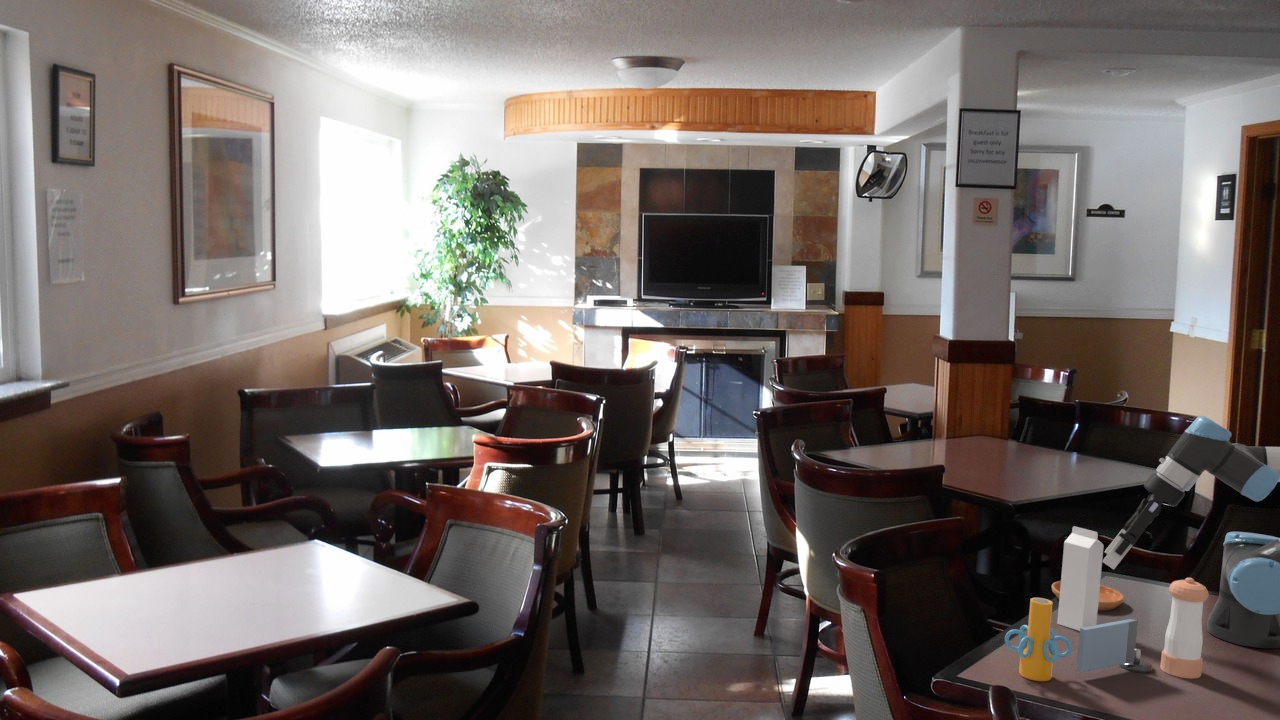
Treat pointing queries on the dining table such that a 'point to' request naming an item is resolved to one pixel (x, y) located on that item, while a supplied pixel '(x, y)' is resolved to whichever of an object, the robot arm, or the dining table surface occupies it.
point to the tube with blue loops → (1038, 642)
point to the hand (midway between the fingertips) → (1108, 560)
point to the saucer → (1106, 596)
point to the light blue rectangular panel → (1106, 645)
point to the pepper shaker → (1184, 630)
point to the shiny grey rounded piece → (1138, 664)
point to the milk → (1080, 579)
